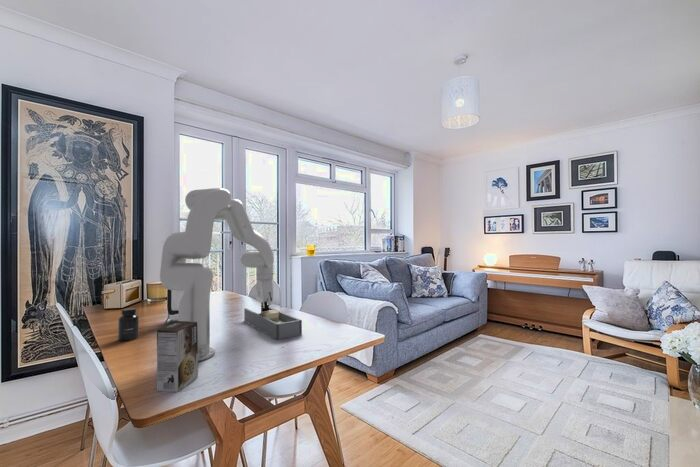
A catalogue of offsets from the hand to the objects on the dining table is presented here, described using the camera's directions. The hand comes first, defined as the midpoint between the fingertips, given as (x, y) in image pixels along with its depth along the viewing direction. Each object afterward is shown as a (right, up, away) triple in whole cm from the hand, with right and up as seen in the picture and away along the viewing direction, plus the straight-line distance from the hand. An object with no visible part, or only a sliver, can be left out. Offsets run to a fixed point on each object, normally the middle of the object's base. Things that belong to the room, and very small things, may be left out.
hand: (265, 316), depth 150 cm
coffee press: (-42, -4, +6) cm, 43 cm away
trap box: (+4, -4, -6) cm, 8 cm away
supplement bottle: (-50, -4, -21) cm, 54 cm away
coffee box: (-8, -3, -62) cm, 62 cm away
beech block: (+3, -1, -4) cm, 5 cm away
